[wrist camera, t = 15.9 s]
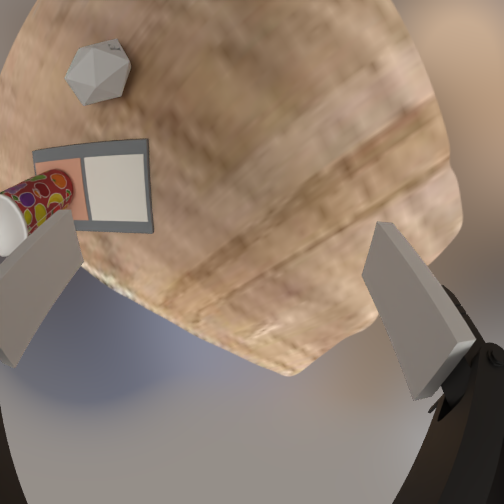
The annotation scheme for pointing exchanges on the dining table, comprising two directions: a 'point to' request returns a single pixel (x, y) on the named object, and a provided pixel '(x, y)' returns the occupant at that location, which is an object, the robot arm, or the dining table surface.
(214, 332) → the dining table surface
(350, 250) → the dining table surface
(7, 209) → the smoothie
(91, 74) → the die
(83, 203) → the game board
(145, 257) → the dining table surface
